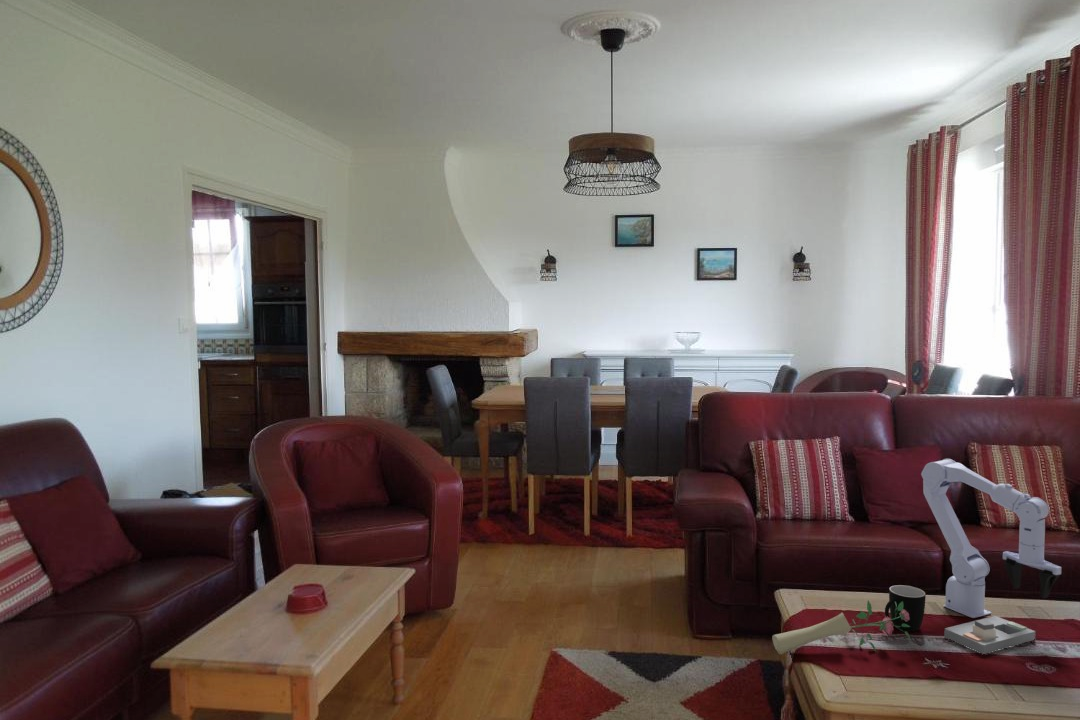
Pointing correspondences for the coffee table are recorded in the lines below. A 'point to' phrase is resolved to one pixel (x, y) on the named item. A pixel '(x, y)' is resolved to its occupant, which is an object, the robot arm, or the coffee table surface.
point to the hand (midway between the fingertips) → (1030, 592)
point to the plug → (984, 629)
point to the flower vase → (833, 630)
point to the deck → (1002, 639)
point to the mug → (906, 606)
